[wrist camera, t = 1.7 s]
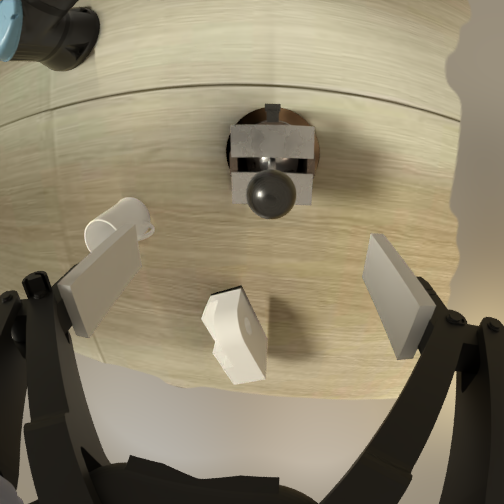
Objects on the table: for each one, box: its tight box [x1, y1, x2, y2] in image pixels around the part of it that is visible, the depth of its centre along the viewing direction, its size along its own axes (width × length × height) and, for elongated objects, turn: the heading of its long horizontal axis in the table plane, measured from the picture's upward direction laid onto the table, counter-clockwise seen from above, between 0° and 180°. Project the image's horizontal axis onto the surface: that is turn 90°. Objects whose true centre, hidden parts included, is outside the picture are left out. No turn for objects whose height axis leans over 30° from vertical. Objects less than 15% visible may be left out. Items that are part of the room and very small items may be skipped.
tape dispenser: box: [201, 285, 268, 385], centre depth 59 cm, size 16×10×13 cm, turn 21°
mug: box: [85, 197, 155, 252], centre depth 50 cm, size 12×8×12 cm
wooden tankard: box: [230, 104, 315, 205], centre depth 41 cm, size 14×12×13 cm
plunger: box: [246, 157, 298, 219], centre depth 30 cm, size 7×7×21 cm
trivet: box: [226, 108, 320, 171], centre depth 48 cm, size 16×16×1 cm
